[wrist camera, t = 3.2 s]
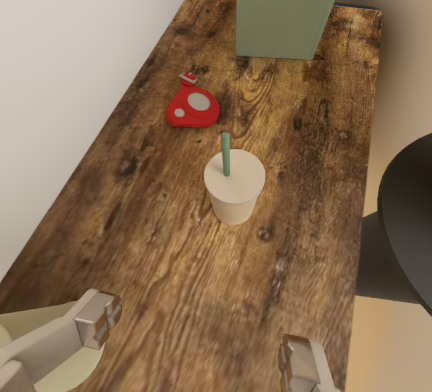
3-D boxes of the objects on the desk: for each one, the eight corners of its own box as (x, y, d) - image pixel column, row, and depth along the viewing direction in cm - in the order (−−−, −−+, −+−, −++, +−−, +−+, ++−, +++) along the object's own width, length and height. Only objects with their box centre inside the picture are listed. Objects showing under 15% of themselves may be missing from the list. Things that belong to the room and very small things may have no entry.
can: (118, 311, 26) (33, 336, 15) (85, 402, 23) (-55, 523, 11) (56, 292, 27) (-64, 303, 16) (16, 376, 24) (-168, 462, 13)
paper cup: (257, 189, 31) (282, 106, 16) (251, 230, 29) (275, 178, 14) (216, 183, 32) (203, 99, 17) (207, 222, 29) (184, 165, 15)
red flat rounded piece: (232, 110, 36) (185, 131, 32) (224, 126, 40) (182, 146, 36) (192, 60, 37) (143, 74, 33) (188, 81, 41) (144, 95, 37)
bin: (313, 14, 46) (333, -49, 37) (312, 60, 41) (335, -1, 32) (245, 12, 48) (248, -48, 39) (235, 55, 43) (236, -3, 34)
